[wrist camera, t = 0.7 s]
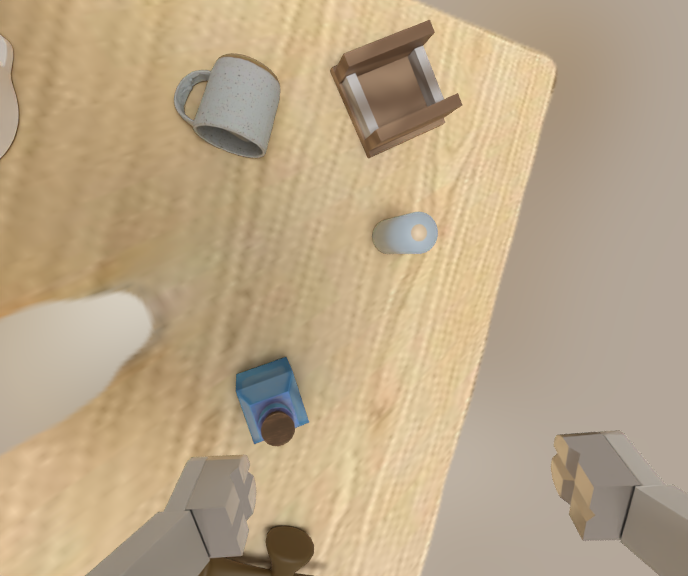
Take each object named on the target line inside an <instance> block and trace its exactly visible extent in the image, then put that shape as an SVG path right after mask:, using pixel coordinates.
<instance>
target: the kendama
mask: <svg viewBox="0 0 688 576" xmlns="http://www.w3.org/2000/svg"><path fill="white" fill-rule="evenodd" d="M266 547H267V551H268V554H269V557H270V559H271V562H272V567H271V569H265V568H260V567H256V566H251V565H247V564H243V563H240V562H236V561H233V560H230V559H227V558H224V557H219V558H209V559H210V561H209V562H208V563H207V565H206V566H205V567H204V569H203V570H202V571H201V572H200V574H199V575H198V576H312V575H305V574H297V573H295V572H296V571H298V570H299V569H300V568H301V567H303V566H304V565H305V564H307V563H308V562H309V561H310V559H311V557H312V556H313V554H314V544H313V542H312V539H311V538H310V537H309V536H308V535H307V534H306V532H304V531H302V530H300V529H298V528H294V527H290V526H278V527H275V528H272V529H271V530H270V531H269V532H268V533H267V537H266Z"/></svg>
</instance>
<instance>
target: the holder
mask: <svg viewBox="0 0 688 576" xmlns="http://www.w3.org/2000/svg"><path fill="white" fill-rule="evenodd" d="M434 33H435V32H434V29H433V27H432V24H431V22H430V20H428V21H425V22H423V23H420V24H418V25H415V26H413V27H410V28H408V29H405V30H403V31H400V32H397V33H395V34H392V35H390V36H387V37H385V38H382V39H380V40H377V41H375V42H372V43H370V44H367V45H364V46H362V47H359V48H357V49H354V50H352V51H349V52H347V53H344V54H343V56H342V58H341V60H340V62H339V64H338V65H336V66H334V67H332V68H331V70H330V72H331V74H332V76H333V79H334V81H335V83H336V86H337V88H338V90H339V93H340V95H341V97H342V99H343V102H344V104H345V106H346V109H347V111H348V113H349V115H350V118H351V120H352V122H353V125H354V127H355V129H356V132H357V134H358V136H359V138H360V141H361V143H362V145H363V148H364V150H365V152H366V155H367V157H368V158H370V157H372V156H375V155H377V154H379V153H381V152H383V151H386V150H388V149H390V148H392V147H394V146H396V145H399V144H401V143H403V142H405V141H407V140H410V139H412V138H414V137H416V136H418V135H421V134H423V133H425V132H427V131H429V130H432V129H434V128H436V127H438V126H440V125H442V124H444V123H445V121H444V117H446V116H447V115H449V114H450V113H452V112H453V111H454V110H456V109H457V108H459V107H460V106H462V103H461V100H460V98H459V95H458V93H457V94H455V95H453V96H451V97H448V98H446V99H444V98H443V96H442V93H441V90H440V88H439V85H438V83H437V80H436V78H435V75H434V72H433V70H432V67H431V65H430V62H429V60H428V57H427V54H426V52H425V49H424V47H423V45H424V44H425V43H426V42H427V41H428V39H429V38H430V37H431V36H432V35H433V34H434Z"/></svg>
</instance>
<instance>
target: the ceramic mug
mask: <svg viewBox="0 0 688 576" xmlns="http://www.w3.org/2000/svg"><path fill="white" fill-rule="evenodd" d="M207 80H208V82H207V86H206V89H205V92H204V94H203V97H202V100H201V103H200V106H199V108H198V111H197V114H196V117H195V120H192V119H190V118H189V117H187V116H186V115H185V112H184V105H185V102H186V100H187V97H188V95H189V93H190V91H191V90H192V86H194V85H195V84H197V83H199V82H201V81H207ZM279 98H280V84H279V81H278V79H277V77H276V76H275V74H274V73H273V72H272V71H271V70H270V69H269V68H268V67H266V66H265V65H264V64H262V63H261V62H259V61H257V60H255V59H253V58H250V57H248V56H245V55H240V54H226V55H223V56H221V57H219V58H218V60H217V61H216V63H215V65H214V66H213V68H212V70H211V71H208V70H198V71H194V72H191V73H190V74H188V75H187V76H185V77H184V78H183V79H182V80H181V82H180V84H179V85H178V87H177V89H176V92H175V96H174V104H175V108H176V110H177V111H178V113H179V115H180V116H181V117H182V118H183V119H184V120H185V121H186V122H188V123H189V124H190V125H192V126H193V130H194V131H195V132H196V134H197V135H198V136H199V137H201V138H202V139H204V140H205V141H207V142H208V143H210V144H212V145H214V146H216V147H218V148H221V149H223V150H225V151H227V152H230V153H233V154H237V155H241V156H244V157H250V158H259V157H262V156H264V155H265V153H266V150H267V146H268V142H269V138H270V134H271V131H272V127H273V122H274V118H275V114H276V111H277V107H278V103H279Z"/></svg>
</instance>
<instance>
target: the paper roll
mask: <svg viewBox="0 0 688 576" xmlns="http://www.w3.org/2000/svg"><path fill="white" fill-rule="evenodd" d="M437 236H438V230H437V226H436V223H435V221H434V220H433V218H432V217H431V216H429V215H428V214H426V213H423V212H414V213H410V214H406V215H402V216H398V217H394V218H390V219H386V220H383V221H381V222H379V223H378V224H377V225H376V226H375V228H374V230H373V234H372V239H373V243H374V245H375V247H376V248H377V249H378V250H379V251H380V252H382V253H385V254H421V253H425V252H427V251H429V250H430V249H431V248H432V247H433V246H434V244H435V242H436V240H437Z"/></svg>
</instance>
